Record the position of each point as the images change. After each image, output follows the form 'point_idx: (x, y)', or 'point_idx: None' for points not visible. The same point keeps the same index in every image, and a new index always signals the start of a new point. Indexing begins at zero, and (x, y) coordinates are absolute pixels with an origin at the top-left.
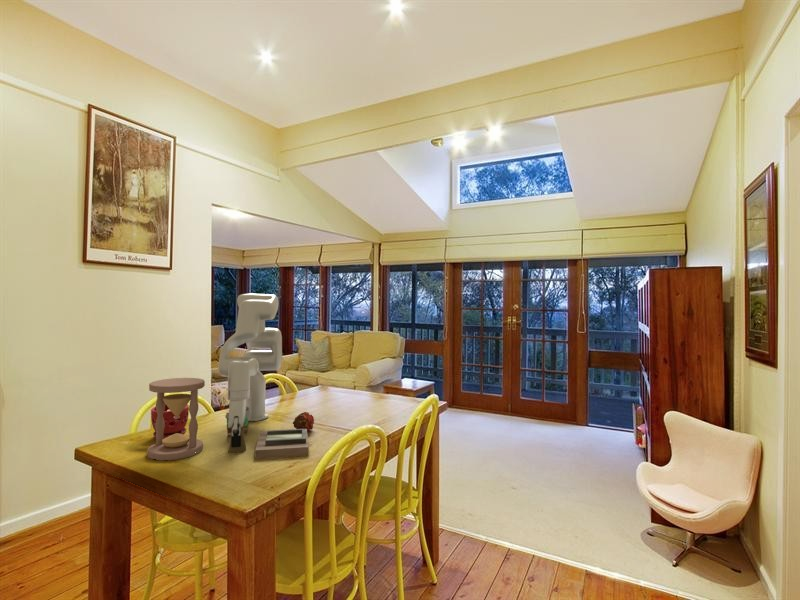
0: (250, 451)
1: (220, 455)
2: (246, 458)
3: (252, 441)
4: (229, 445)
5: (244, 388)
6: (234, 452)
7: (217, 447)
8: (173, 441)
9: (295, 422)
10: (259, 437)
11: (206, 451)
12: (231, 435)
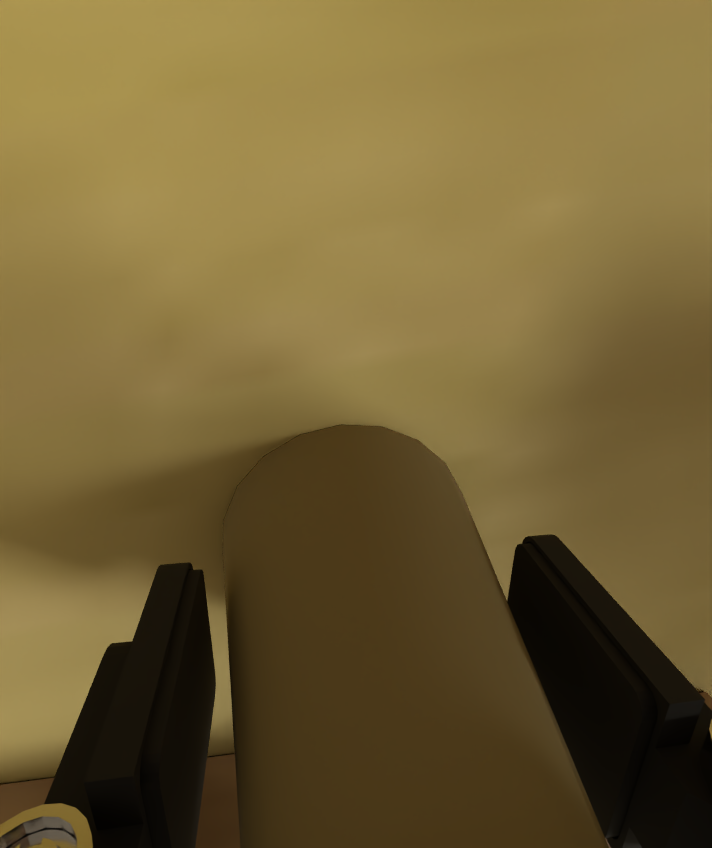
0: None
1: (154, 338)
2: (4, 701)
3: (654, 637)
4: (309, 499)
5: None
6: (225, 535)
7: (585, 214)
8: None
9: None
10: None
11: (422, 19)
12: (319, 692)
